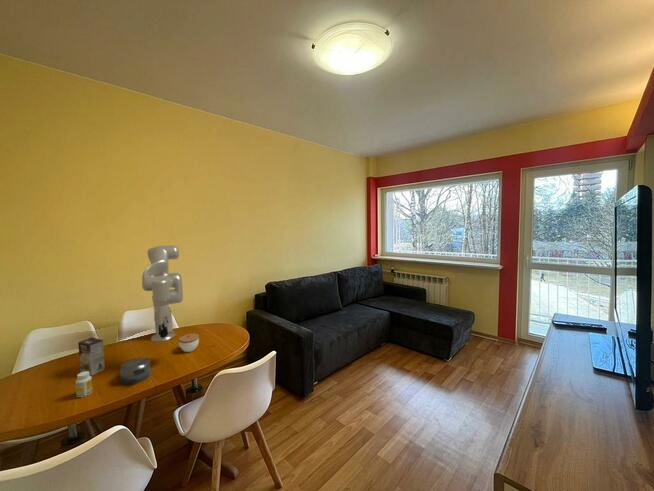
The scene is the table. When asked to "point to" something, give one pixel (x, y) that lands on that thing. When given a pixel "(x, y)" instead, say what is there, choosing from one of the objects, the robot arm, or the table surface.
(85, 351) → the coffee box
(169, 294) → the robot arm
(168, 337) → the lid
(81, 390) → the supplement bottle
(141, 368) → the pot
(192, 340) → the lidded jar
